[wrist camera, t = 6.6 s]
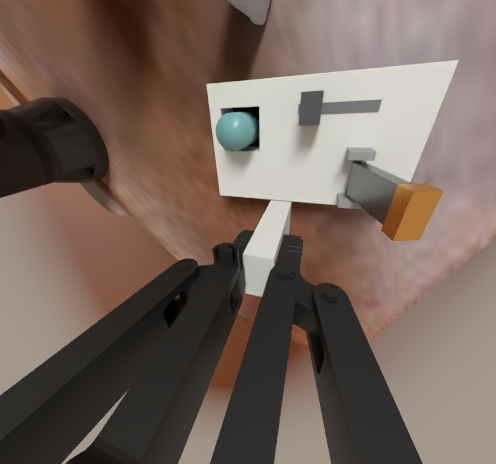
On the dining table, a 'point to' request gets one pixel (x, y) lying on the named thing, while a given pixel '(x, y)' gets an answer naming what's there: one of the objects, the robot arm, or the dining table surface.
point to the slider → (310, 108)
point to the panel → (328, 130)
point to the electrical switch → (252, 9)
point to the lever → (392, 200)
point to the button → (237, 130)
